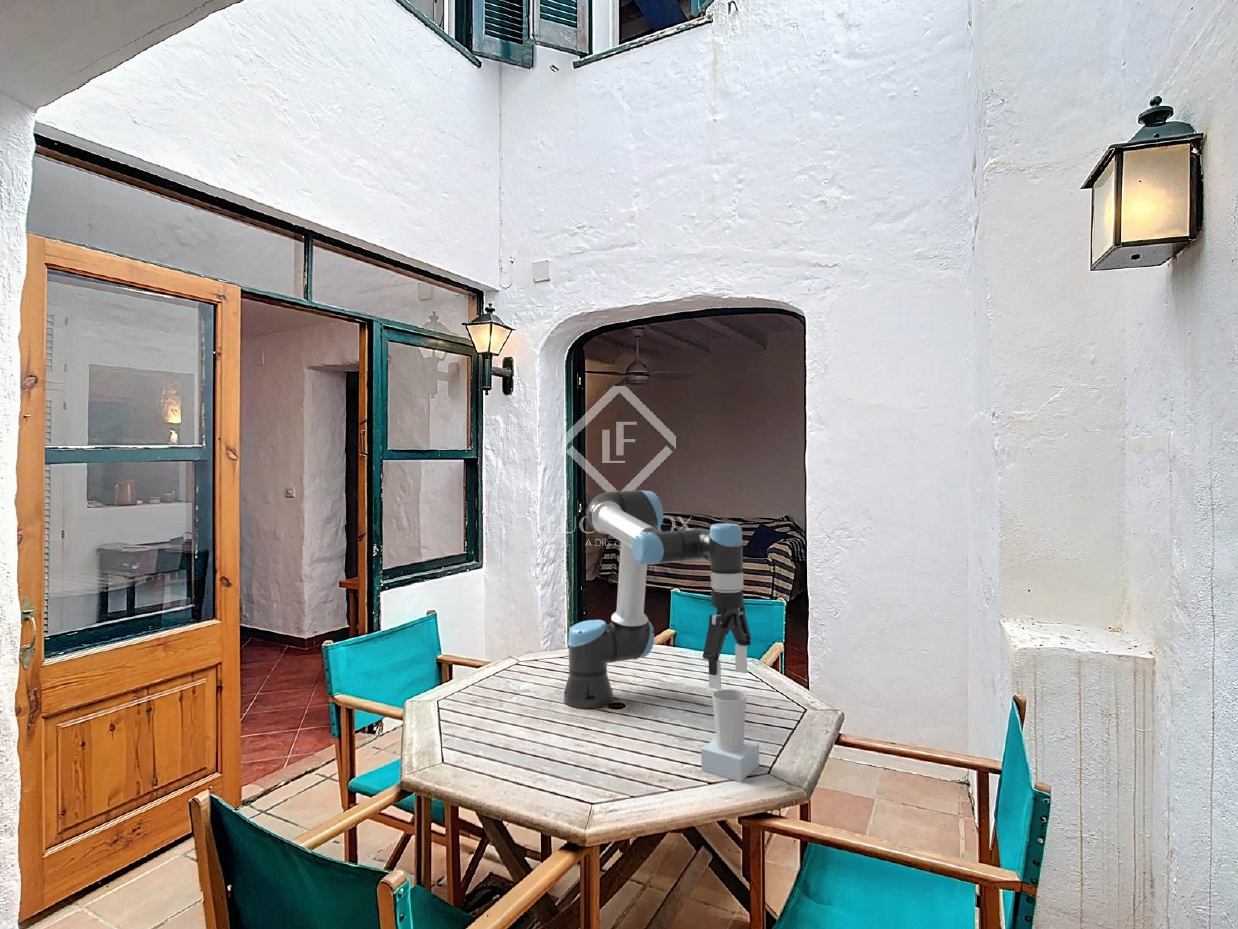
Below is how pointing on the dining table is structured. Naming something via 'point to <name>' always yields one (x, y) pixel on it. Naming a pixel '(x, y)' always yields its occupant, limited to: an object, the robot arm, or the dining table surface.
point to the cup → (729, 719)
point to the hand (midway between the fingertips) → (728, 680)
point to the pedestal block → (730, 760)
